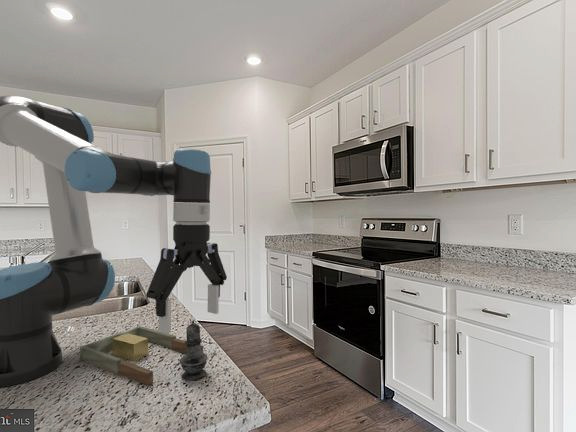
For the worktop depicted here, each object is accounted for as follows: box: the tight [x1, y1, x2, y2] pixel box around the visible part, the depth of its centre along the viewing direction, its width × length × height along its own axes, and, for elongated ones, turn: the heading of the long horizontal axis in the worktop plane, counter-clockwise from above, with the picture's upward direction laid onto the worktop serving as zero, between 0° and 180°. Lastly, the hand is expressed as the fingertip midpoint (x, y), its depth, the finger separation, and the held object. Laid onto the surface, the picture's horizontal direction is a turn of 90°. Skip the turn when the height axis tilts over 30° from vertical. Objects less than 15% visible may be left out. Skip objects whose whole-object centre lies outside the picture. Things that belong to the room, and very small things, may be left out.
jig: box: [79, 325, 204, 386], centre depth 79 cm, size 16×25×3 cm, turn 60°
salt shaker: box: [179, 319, 209, 382], centre depth 70 cm, size 6×6×12 cm
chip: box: [112, 333, 136, 358], centre depth 82 cm, size 4×4×4 cm
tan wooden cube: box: [122, 336, 149, 361], centre depth 80 cm, size 4×4×4 cm
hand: (190, 321), depth 70 cm, fingers open, 13 cm apart
